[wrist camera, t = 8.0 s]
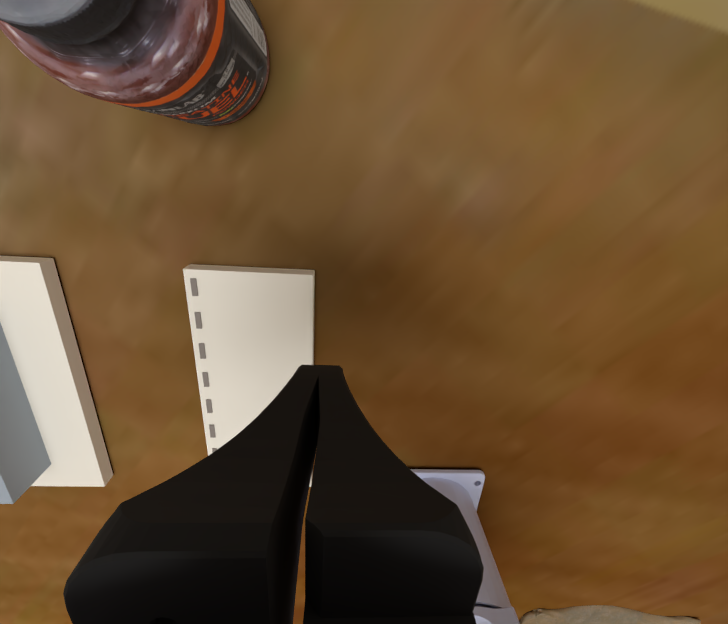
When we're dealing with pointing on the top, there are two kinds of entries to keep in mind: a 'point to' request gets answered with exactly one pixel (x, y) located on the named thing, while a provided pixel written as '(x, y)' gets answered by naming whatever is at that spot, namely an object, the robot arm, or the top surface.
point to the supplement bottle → (149, 52)
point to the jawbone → (600, 616)
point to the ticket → (246, 339)
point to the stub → (43, 387)
